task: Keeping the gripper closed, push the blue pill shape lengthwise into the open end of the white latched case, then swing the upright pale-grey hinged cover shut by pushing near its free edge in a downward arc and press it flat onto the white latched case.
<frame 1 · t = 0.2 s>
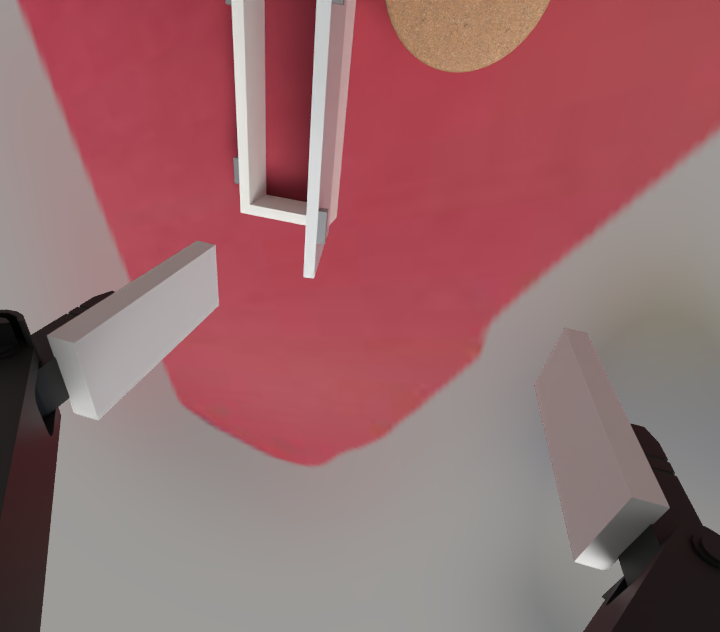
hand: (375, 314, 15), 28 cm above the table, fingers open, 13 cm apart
cover: (330, 111, 29), point 9 cm above the table, hinge at 100.0°
white latched case: (300, 94, 37), on the table
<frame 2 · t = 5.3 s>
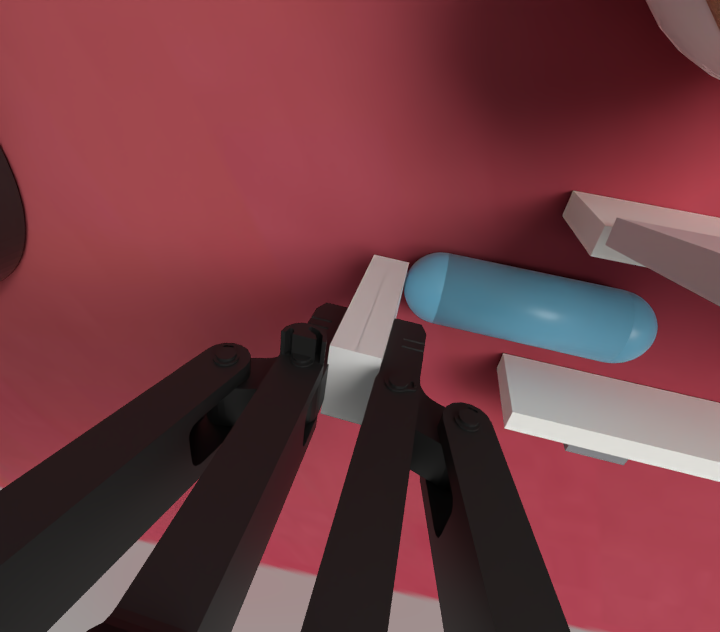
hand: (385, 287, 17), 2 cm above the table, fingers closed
blue pill shape: (519, 289, 18), on the table, touching gripper
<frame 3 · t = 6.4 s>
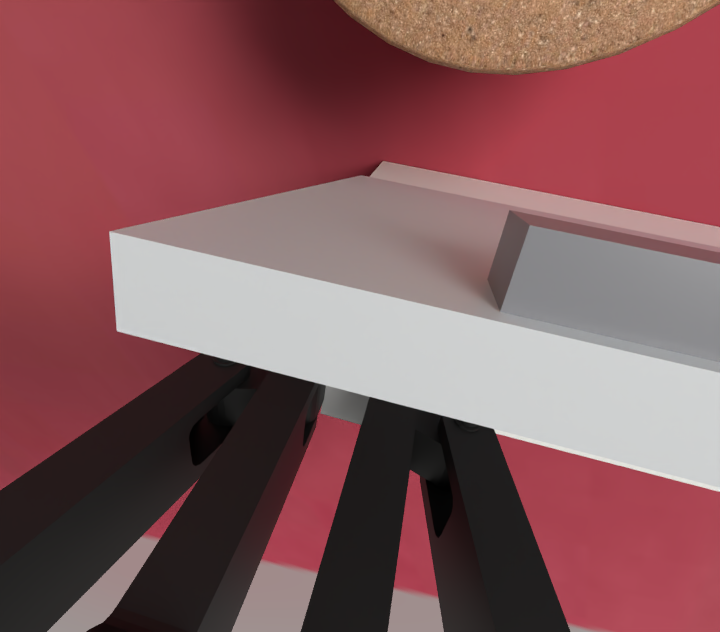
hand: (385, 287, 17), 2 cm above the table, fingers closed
white latched case: (612, 317, 17), on the table
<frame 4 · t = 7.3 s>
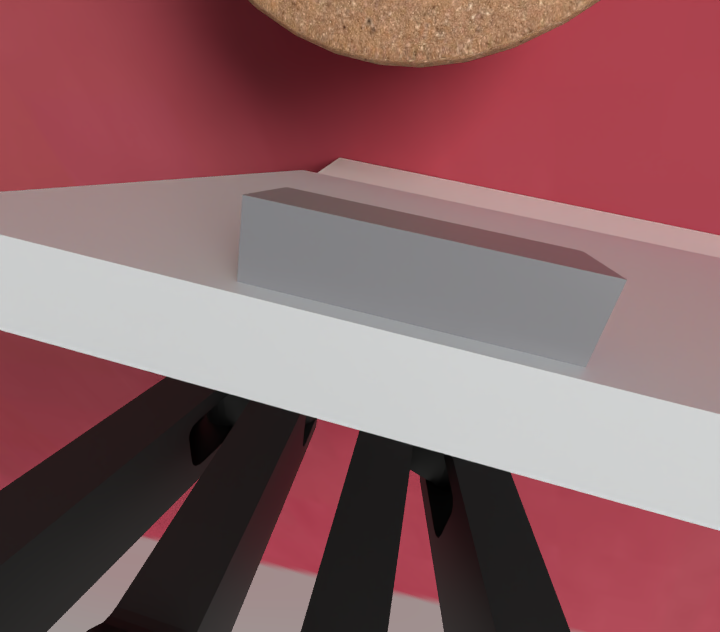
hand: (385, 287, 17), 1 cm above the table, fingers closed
white latched case: (570, 315, 17), on the table
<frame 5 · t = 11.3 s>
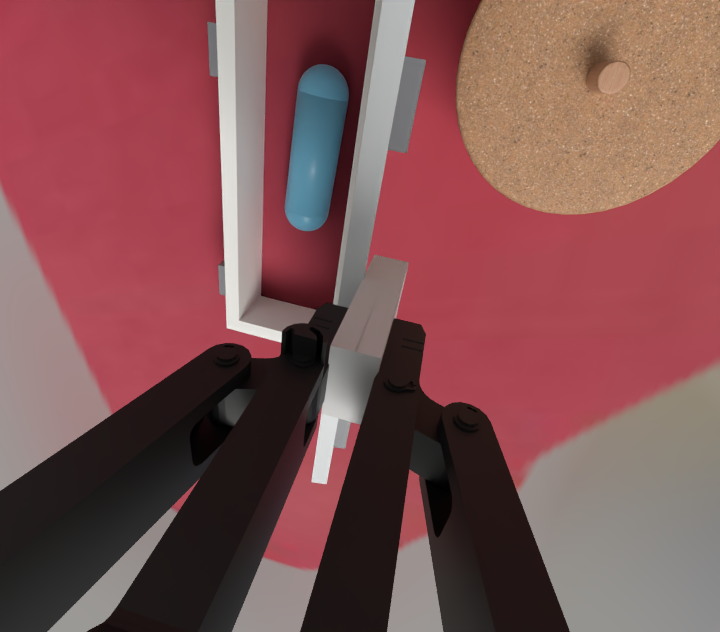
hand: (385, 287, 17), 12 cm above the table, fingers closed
lidded jar: (558, 75, 22), on the table
cover: (361, 256, 19), point 9 cm above the table, hinge at 99.7°, touching gripper
blue pill shape: (315, 150, 26), resting in white latched case, tilted 17°
white latched case: (311, 185, 28), on the table
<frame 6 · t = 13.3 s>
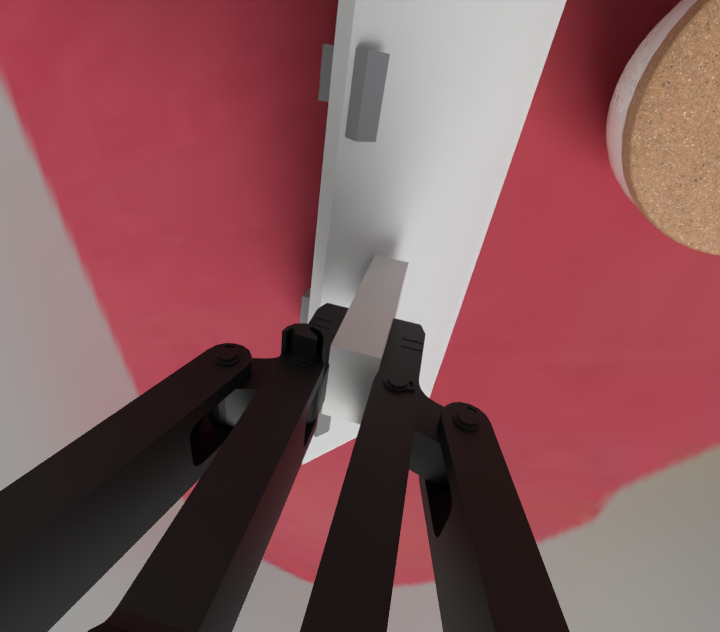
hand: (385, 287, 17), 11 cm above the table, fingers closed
lidded jar: (696, 98, 20), on the table
cover: (410, 270, 19), point 8 cm above the table, hinge at 49.3°, touching gripper
white latched case: (402, 211, 26), on the table
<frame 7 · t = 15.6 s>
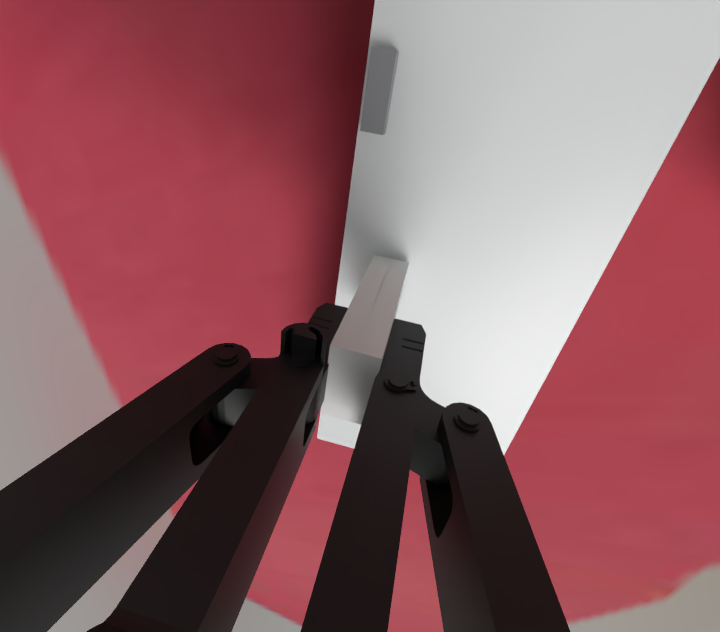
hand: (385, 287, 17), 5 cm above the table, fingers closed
cover: (452, 297, 17), point 5 cm above the table, hinge at 0.4°, touching gripper
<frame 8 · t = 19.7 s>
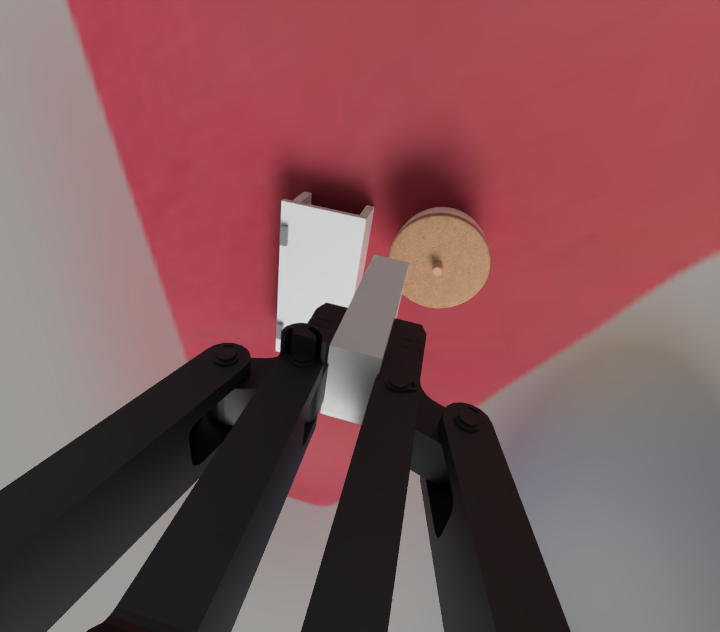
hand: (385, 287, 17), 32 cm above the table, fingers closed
lidded jar: (441, 239, 49), on the table
cover: (315, 293, 51), point 5 cm above the table, hinge at 0.3°
white latched case: (329, 277, 55), on the table
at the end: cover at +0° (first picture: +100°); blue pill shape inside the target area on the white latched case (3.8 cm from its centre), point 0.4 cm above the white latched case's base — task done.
